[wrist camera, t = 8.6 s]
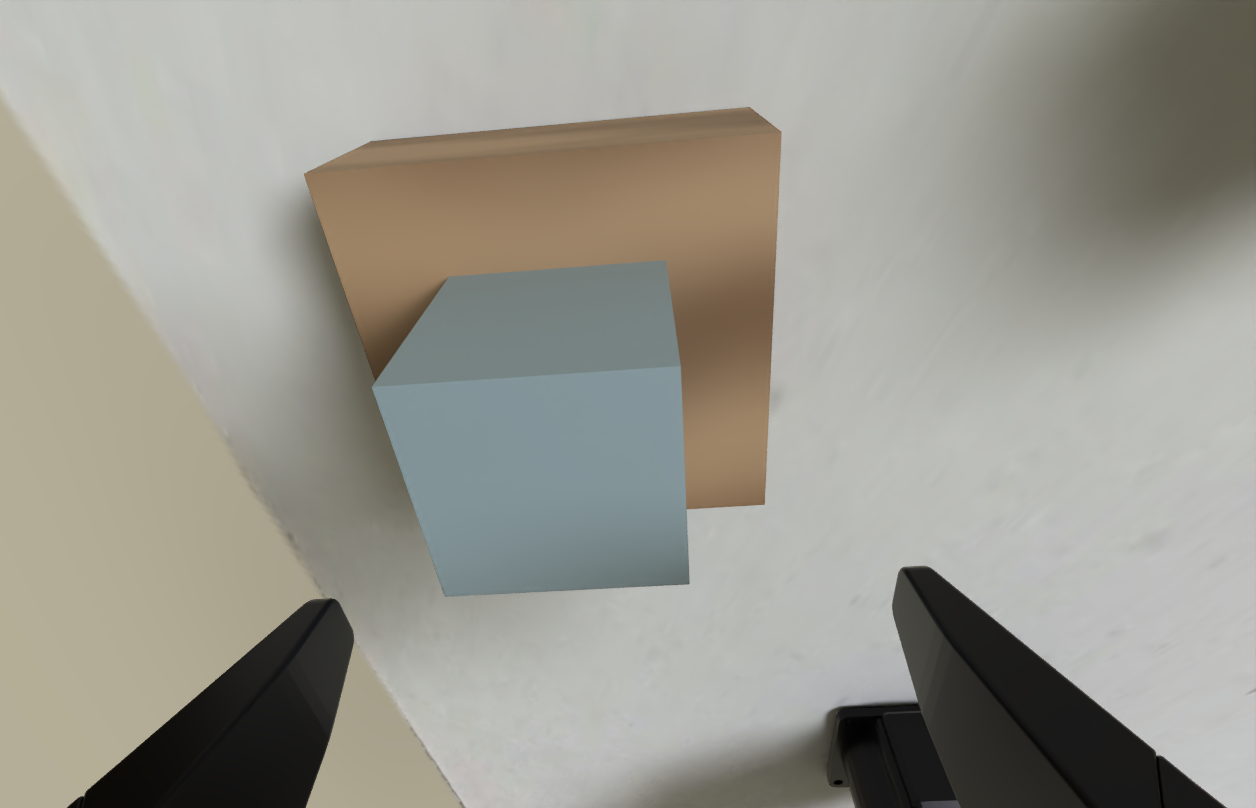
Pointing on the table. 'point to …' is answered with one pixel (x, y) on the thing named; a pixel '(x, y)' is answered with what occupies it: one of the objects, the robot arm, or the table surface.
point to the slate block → (544, 430)
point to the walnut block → (585, 247)
